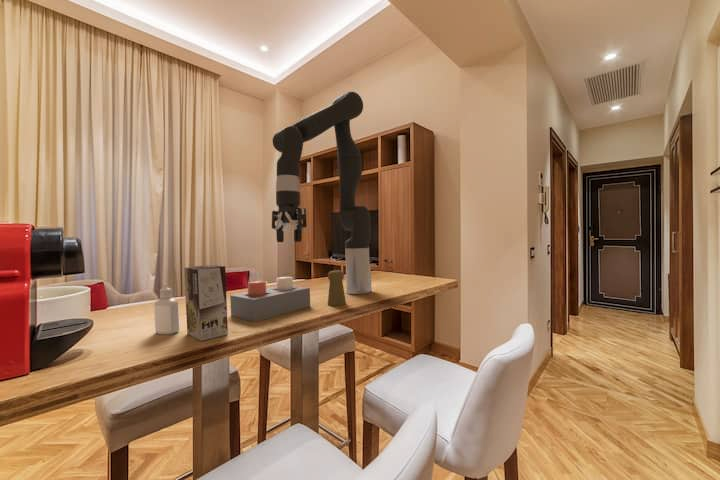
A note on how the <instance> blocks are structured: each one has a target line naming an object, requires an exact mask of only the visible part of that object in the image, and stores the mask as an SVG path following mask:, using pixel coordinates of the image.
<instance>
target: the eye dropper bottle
mask: <svg viewBox="0 0 720 480" xmlns="http://www.w3.org/2000/svg"><path fill="white" fill-rule="evenodd" d="M172 296H173V295H172V288H171V287H169V286H168V283H163V285H162V288H160V289H159V299H157V300H156V301H155V302H154V304H153V305H154V308H153V309H154V328H155V329H154V330H155V333H156V334H157V335H173V334H176V333H178V332H180V321H179V320H180V317H179V303H178V301H177V300H176V299H175V298H172Z"/></svg>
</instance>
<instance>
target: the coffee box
mask: <svg viewBox="0 0 720 480" xmlns="http://www.w3.org/2000/svg"><path fill="white" fill-rule="evenodd" d="M183 272H184V273H183V274H184V277H183V278H184V295H185V296H184V297H185V312H186V313H185V314H186V329H187V331H186V332H187V335H189V336H191V337H192V338H194V339H196V340H198V341H200V342H203V341H207V340H212V339H215V338H219V337H222V336H227V335H228V334H229V330H228V329H229V328H228V327H229V326H228V303H227V302H228V301H227V300H228V299H227V298H228V297H227V278H226V277H227V274H226V273H227V272H226V266H223V265H214V264H213V265H212V264H209V265H207V264H206V265H197V266H192V267H184V268H183Z"/></svg>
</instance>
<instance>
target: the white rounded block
mask: <svg viewBox="0 0 720 480" xmlns="http://www.w3.org/2000/svg"><path fill="white" fill-rule="evenodd" d="M293 286H294V277H293V276H280V277H279V276H278V277H276V287H277V290H279V291H286V290H291V289H293Z"/></svg>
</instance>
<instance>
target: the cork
mask: <svg viewBox="0 0 720 480" xmlns="http://www.w3.org/2000/svg"><path fill="white" fill-rule="evenodd" d="M344 277H345V275H344V271H342V270H339V269H337V270H335V269H334V270H331V271H329V272H328V273H327V278H328V279H327V280H329V287H328V288H329V289H328V296H327V297H328V298H327V306H329V307H342V306H345V305H347V302H346V296H345V288H344V284H343V280H344Z"/></svg>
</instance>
